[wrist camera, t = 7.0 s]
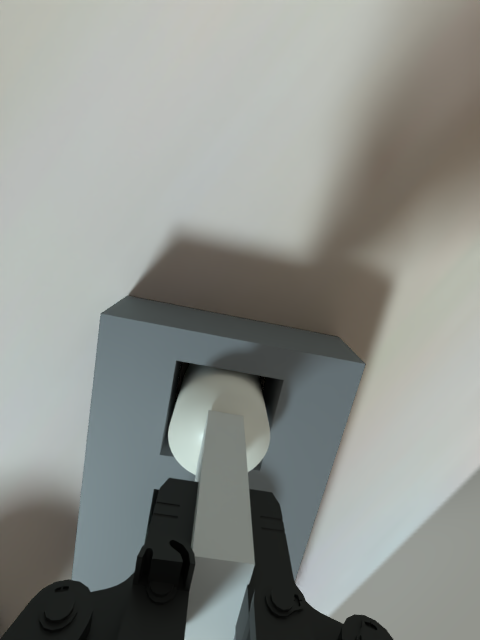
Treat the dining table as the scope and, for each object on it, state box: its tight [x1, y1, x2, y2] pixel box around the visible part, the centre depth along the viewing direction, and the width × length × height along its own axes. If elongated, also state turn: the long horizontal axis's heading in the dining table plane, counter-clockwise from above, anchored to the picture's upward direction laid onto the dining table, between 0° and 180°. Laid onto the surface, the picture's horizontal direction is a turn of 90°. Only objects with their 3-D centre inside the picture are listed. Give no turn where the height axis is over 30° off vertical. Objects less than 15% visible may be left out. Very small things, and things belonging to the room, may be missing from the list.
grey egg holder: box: [72, 296, 365, 640], centre depth 20 cm, size 22×12×4 cm, turn 168°
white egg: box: [168, 363, 270, 475], centre depth 17 cm, size 4×4×5 cm
